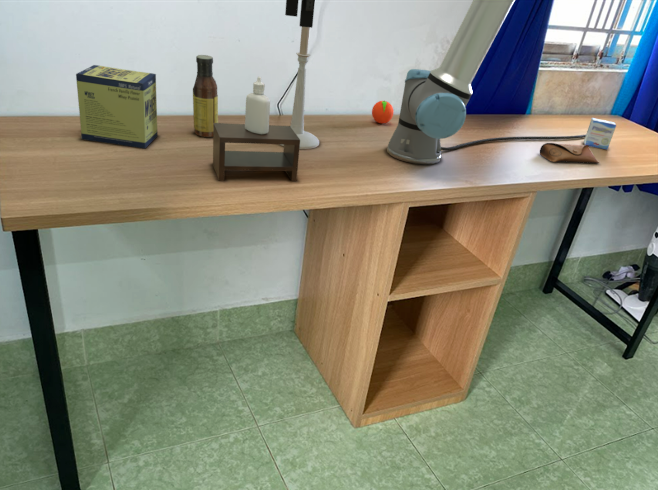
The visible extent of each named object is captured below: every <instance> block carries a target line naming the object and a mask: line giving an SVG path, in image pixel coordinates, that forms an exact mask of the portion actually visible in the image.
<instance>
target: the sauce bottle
mask: <svg viewBox="0 0 658 490" xmlns="http://www.w3.org/2000/svg"><path fill="white" fill-rule="evenodd" d="M195 58H196V60H195V62H196V76H195V81H194V85H193V87H192V108H193V109H192V110H193V111H192V113H193V129H194V133H195V135H196V136H199V137H202V138H213V123H219V95H218V84H217V81H216V80H215V78H214V76H213V74H214V72H213V64H214V58H213V56H211V55H207V54H198V55H196V57H195Z"/></svg>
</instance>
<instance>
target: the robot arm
mask: <svg viewBox="0 0 658 490" xmlns="http://www.w3.org/2000/svg"><path fill="white" fill-rule="evenodd" d="M515 1H516V0H472V2H471V3H470V6H469V8H468V10H467V12H466V14H465V16H464V18H463V20H462V22H461V24H460V26H459V28H458V30H457V32H456V34H455V35H454V37H453V39H452V42H451V44H450V46H449V47H448V50H447V52H446V53H445V56H444V58H443V59H442V61H441V63H440V66H439V67H437V68H435V69H432V70H427V69H419V68H411V69H409V70H408V71H407V72H406V77H405V79H404V86H403V87H404V88H403V94H402V99H401V105H400V111H399V117H398V123H397V126H396V128H395V130H394V132H393V133H392V135H391V137H390V139H389V142H388V144H387V148H386V152H387V154H388V155H390V156H391V157H392V158H394V159H397V160H399V161H402V162H406V163H409V164H415V165H434V164H438V163H439V162H441V158H442V151H444V152H445V151H446V152H449V151H454V150H457V149H460V148H464V147H468V146H473V145H477V144H483V143H489V142H500V141H515V140H516V141H517V140H570V139H571V140H573V139H574V140H575V139H585V136H586V134H580V135H578V134H577V135H558V136H557V135H556V136H555V135H554V136H553V135H551V136H550V135H549V136H546V135H545V136H501V137H491V138H484V139H483V138H482V139H478V140H473V141H468V142H464V143H459V144H456V145H453V146H449V147H446V146H442V145H441V140H443V139H447V138H450V137H452V136H454V135H456V134H457V133H458V132H459V131H460V130H461V129H462V127H463V126H464V124H465V122H466V117H467V108H466V107H467V104H468V103H469V101H470V99H471V97H472V95H473V89H472V82H473V80H474V79H475V77H476V75H477V73H478V70H479V68H480V67H481V65H482V63H483V61H484V60H485V58H486V55H487V54H488V52H489V50H490V48H491V47H492V44H493V43H494V40H495V38H496V36H497V35H498V33H499V32H500V29H501V27H502V25H503V23H504V22H505V20H506V18H507V16H508V14H509V13H510V10H511V9H512V7H513V5H514V3H515ZM300 2H301V3H300V12H299V0H285V10H284V11H285V14H284V15H285V17H286V16H287V17H298V12H299V13H300V14H299V27H300V28H302V27H310V29H311V28H312V29H313V25H314V14H315V4H316V0H301V1H300Z"/></svg>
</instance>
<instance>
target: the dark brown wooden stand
mask: <svg viewBox="0 0 658 490" xmlns="http://www.w3.org/2000/svg"><path fill="white" fill-rule="evenodd" d="M290 126H291V125H274V124H269V132H268V133H267V134H263V135H261V134H256V133H253V132H250V131H248V130H246V129H245V123H227V122H221V123H220V122H218V123H213V137H212V166H213V169H214V171H215V174H216V177H217V180H218V181H222V182H223V181H225V171H251V172H252V171H253V172H254V171H255V172H256V171H257V172H259V171H260V172H261V171H262V172H285V173H286V175H287V176H288V178H289V179H290V181H291V182H298V181H297V179H298V169H299V158H300V149H299V148H300V139H299V138H298V136H297V135H296V134H295V132H294V131H293V129H292V128H291V127H290ZM226 144H253V145H254V144H255V145H279V144H284V146H283V148H282V149H283V151H252V150H251V151H249V150H248V151H247V150H226Z"/></svg>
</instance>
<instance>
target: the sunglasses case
mask: <svg viewBox="0 0 658 490" xmlns="http://www.w3.org/2000/svg"><path fill="white" fill-rule="evenodd" d="M539 154H540V156H541V157H543V158H544V159H545V160H547V161H549V162H551V163H569V164H586V165H587V164H600V162H599V161H598V160H597V157H596V155H594V153H593V151H592V150H591V147H590V146H589V145H585V144H584V145H583V144H570V143H569V144H567V143H556V142H546V143H544V144H542V145H541V146H540V148H539Z"/></svg>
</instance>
